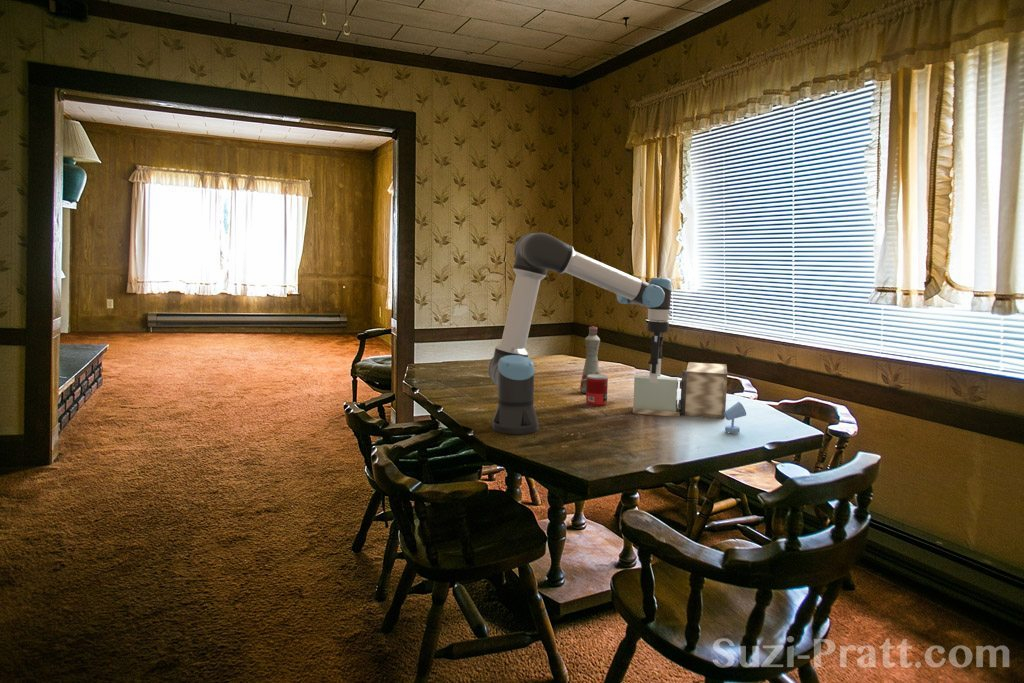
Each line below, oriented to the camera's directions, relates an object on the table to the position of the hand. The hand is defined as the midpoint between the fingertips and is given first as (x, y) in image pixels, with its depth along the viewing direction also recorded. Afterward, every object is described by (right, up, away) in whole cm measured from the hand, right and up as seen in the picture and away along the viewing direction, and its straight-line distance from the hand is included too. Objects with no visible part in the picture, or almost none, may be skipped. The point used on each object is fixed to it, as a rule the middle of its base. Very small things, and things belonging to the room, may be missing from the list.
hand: (654, 379), depth 240 cm
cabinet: (+11, -12, +8) cm, 18 cm away
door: (0, -12, +2) cm, 13 cm away
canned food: (-19, -11, +14) cm, 26 cm away
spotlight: (+21, -16, -24) cm, 35 cm away
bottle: (-19, -8, +35) cm, 41 cm away
